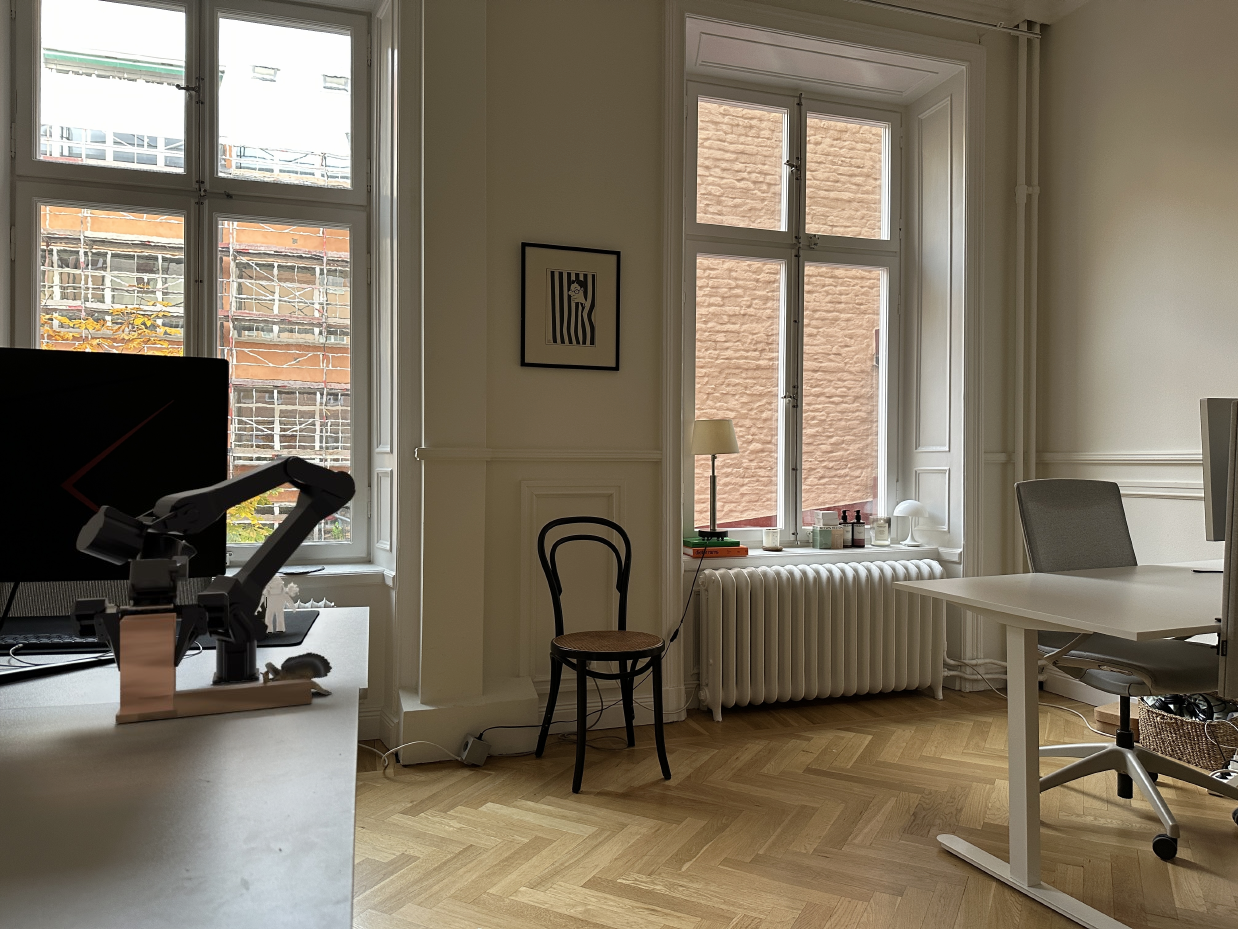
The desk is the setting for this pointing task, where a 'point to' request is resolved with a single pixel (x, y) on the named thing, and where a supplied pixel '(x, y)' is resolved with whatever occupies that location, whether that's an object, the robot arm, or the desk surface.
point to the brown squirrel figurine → (300, 670)
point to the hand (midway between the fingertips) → (148, 667)
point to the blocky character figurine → (277, 602)
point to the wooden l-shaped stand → (154, 678)
